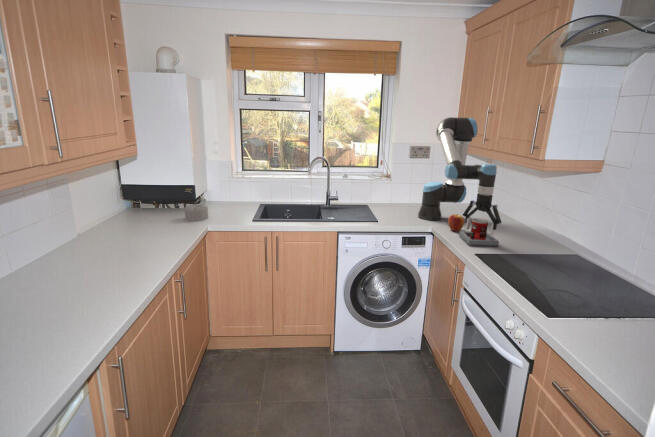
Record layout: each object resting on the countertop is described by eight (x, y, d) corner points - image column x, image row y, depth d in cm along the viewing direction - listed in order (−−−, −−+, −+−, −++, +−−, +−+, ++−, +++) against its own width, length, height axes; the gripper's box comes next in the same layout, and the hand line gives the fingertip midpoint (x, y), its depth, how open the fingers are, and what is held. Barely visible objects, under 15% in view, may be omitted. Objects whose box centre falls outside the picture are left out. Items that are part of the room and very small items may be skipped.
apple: (443, 229, 223) (445, 213, 221) (452, 227, 229) (454, 211, 226) (457, 233, 217) (459, 217, 214) (466, 230, 222) (468, 214, 220)
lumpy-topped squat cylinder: (184, 218, 231) (183, 204, 228) (205, 215, 237) (205, 202, 235) (188, 222, 222) (187, 208, 220) (210, 219, 229) (209, 206, 226)
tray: (459, 236, 212) (460, 231, 211) (487, 237, 212) (487, 232, 211) (468, 245, 197) (469, 240, 196) (498, 246, 197) (499, 241, 196)
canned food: (470, 236, 209) (472, 217, 206) (485, 238, 206) (488, 219, 203) (469, 240, 203) (471, 221, 200) (485, 242, 199) (487, 223, 197)
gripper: (459, 190, 203) (454, 228, 209) (506, 199, 186) (499, 239, 192) (466, 189, 208) (461, 225, 214) (512, 197, 191) (505, 236, 197)
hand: (479, 232), depth 203 cm, fingers open, 13 cm apart
